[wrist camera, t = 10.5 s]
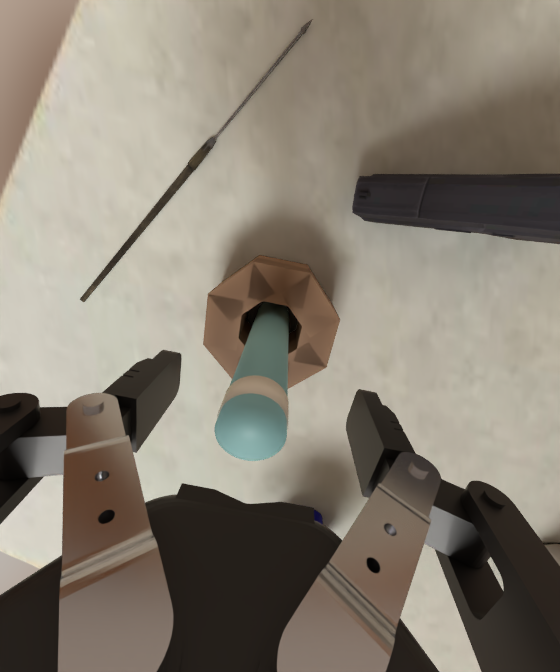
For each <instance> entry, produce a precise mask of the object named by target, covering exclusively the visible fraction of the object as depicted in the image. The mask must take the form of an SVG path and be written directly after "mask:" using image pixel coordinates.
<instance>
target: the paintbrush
mask: <svg viewBox="0 0 560 672" xmlns="http://www.w3.org/2000/svg"><path fill="white" fill-rule="evenodd" d="M311 21H312V20H311ZM311 21H309V22H308V23H307V24H306V25H304V26H303V27H302V28H301V31H300V32H299V34H298V35H297V36H296V37H295V39H294V40H293V41H292V42H291V43H290V45H289V46H288V47H287V48H286V50H285V51H284V52H283V53H282V55H281V56H280V57H279V58H278V59H277V61H276V62H275V63H274V64H273V66H272V67H271V68H270V69H269V71H268V72H267V73H266V74H265V76H264V77H263V78H262V79H261V80H260V82H259V83H258V84H257V85H256V87H255V88H254V89H253V90H252V92H251V93H250V94H249V95H248V97H247V98H246V99H245V100H244V101H243V103H242V104H241V105H240V106H239V108H238V109H237V110H236V111H235V113H234V114H233V115H232V116H231V117H230V119H229V120H228V121H227V122H226V124H225V125H224V126H223V127H222V129H221V130H220V131H219V132H218V134H217V135H216V136H215V137H214V138H213V137H212V138H210V139H209V140H208V141H207V142H206V143H205V144H204V145H203V147H202V148H201V149H200V150H199V151H198V152H197V153H196V154H195V156H194V157H193V158H192V159H191V160H190V161H189V162H188V165H187V167H186V168H185V169H184V170H183V172H182V173H181V174H180V175H179V177H178V178H177V179H176V180H175V182H174V183H173V184H172V185H171V187H170V188H169V189H168V190H167V192H166V193H165V194H164V195H163V197H162V198H161V199H160V200H159V202H158V203H157V204H156V205H155V206H154V208H153V209H152V210H151V211H150V213H149V214H148V215H147V216H146V218H145V219H144V220H143V221H142V223H141V224H140V225H139V226H138V228H137V229H136V230H135V231H134V233H133V234H132V235H131V236H130V238H129V239H128V240H127V241H126V243H125V244H124V245H123V246H122V248H121V249H120V250H119V251H118V253H117V254H116V255H115V256H114V258H113V259H112V260H111V261H110V263H109V264H108V265H107V266H106V268H105V269H104V270H103V271H102V273H101V274H100V275H99V276H98V277H97V279H96V280H95V281H94V282H93V284H92V285H91V286H90V287H89V289H88V290H87V291H86V292H85V294H84V295H83V296H82V297H81V299H80V300H81V301H82V302H85V301H86V299H87V298H88V297H89V296H90V295H91V293H92V292H93V291H94V290H95V289H96V287H97V286H98V285H99V284H100V283H101V281H102V280H103V279H104V278H105V277H106V275H107V274H108V273H109V272H110V271H111V269H112V268H113V267H114V266H115V265H116V263H117V262H118V261H119V260H120V259H121V257H122V256H123V255H124V254H125V253H126V251H127V250H128V249H129V248H130V247H131V245H132V244H133V243H134V242H135V241H136V239H137V238H138V237H139V236H140V235H141V233H142V232H143V231H144V230H145V229H146V227H147V226H148V225H149V224H150V223H151V221H152V220H153V219H154V218H155V217H156V215H157V214H158V213H159V212H160V211H161V209H162V208H163V207H164V206H165V205H166V203H167V202H168V201H169V200H170V199H171V197H172V196H173V195H174V194H175V193H176V191H177V190H178V189H179V188H180V187H181V185H182V184H183V183H184V182H185V181H186V179H187V178H188V177H189V176H190V175H191V174H192V172H193V171H194V170H196V168H197V167H198V166H199V164H200V163H201V162H202V161H203V159H204V158H205V157H206V155H207V154H208V153H209V151H210V150H211V149H212V148H213V146H214V144H215V143H216V141H215V140H216V138H217V137H218V136H219V135H220V134H221V132H222V131H223V130H224V129H225V128H226V126H227V125H228V124H229V123H230V121H231V120H232V119H233V118H234V117H235V115H236V114H237V113H238V112H239V111H240V109H241V108H242V107H243V106H244V104H245V103H246V102H247V101H248V100H249V98H250V97H251V96H252V95H253V93H254V92H255V91H256V90H257V89H258V87H259V86H260V85H261V84H262V83H263V81H264V80H265V79H266V78H267V76H268V75H269V74H270V73H271V72H272V70H273V69H274V68H275V67H276V66H277V64H278V63H279V62H280V61H281V59H282V58H283V57H284V56H285V55H286V53H287V52H288V51H289V50H290V49H291V47H292V46H293V45H294V44H295V42H296V41H297V40H298V39H299V38H300V36H301V35H302V34H304V33H305V32H306V30H307V28H308V26H309V25H310V23H311Z"/></svg>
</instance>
